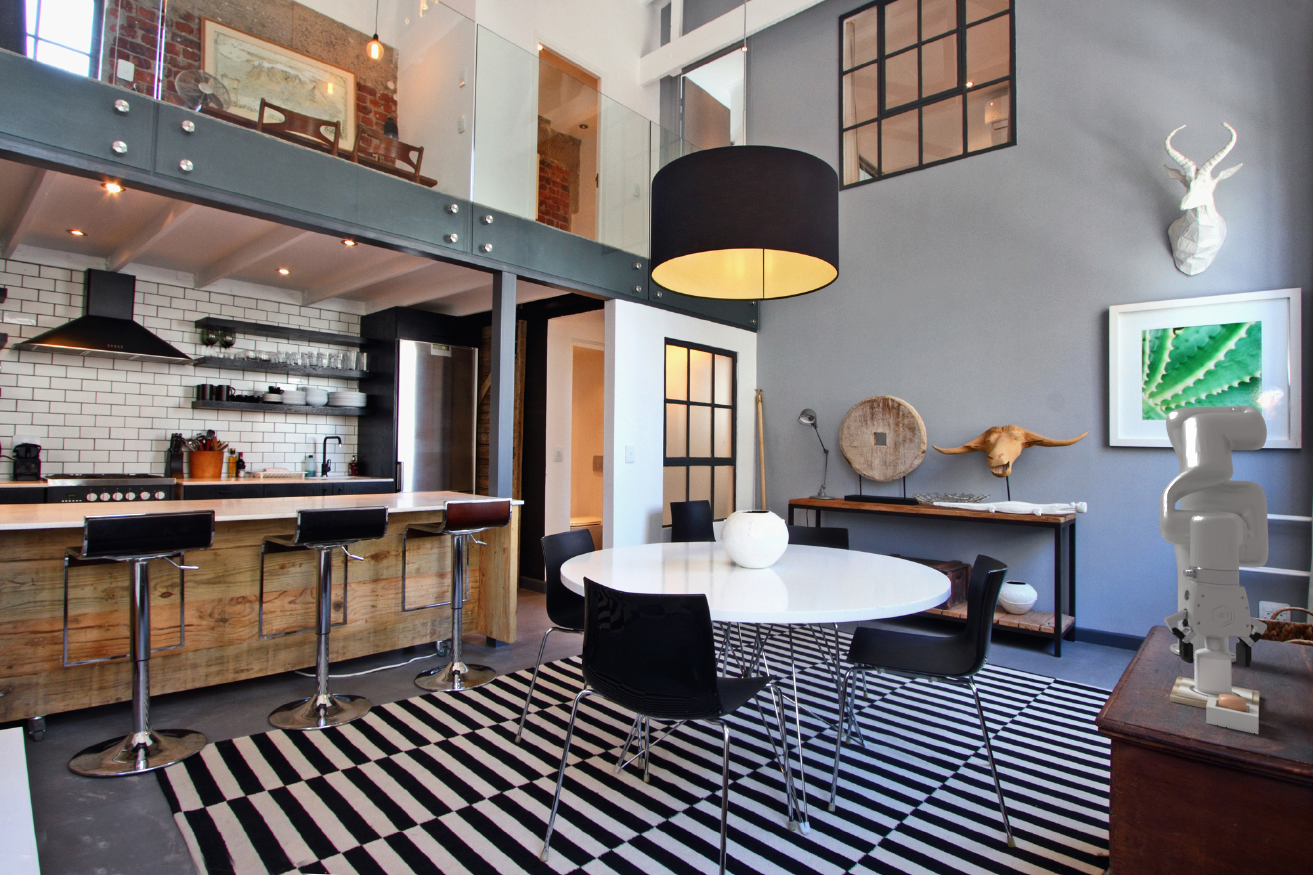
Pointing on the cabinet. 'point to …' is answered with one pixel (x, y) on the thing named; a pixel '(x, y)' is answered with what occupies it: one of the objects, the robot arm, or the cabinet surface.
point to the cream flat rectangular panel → (1205, 694)
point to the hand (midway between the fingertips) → (1214, 663)
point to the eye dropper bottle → (1212, 668)
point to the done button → (1232, 702)
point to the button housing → (1232, 716)
